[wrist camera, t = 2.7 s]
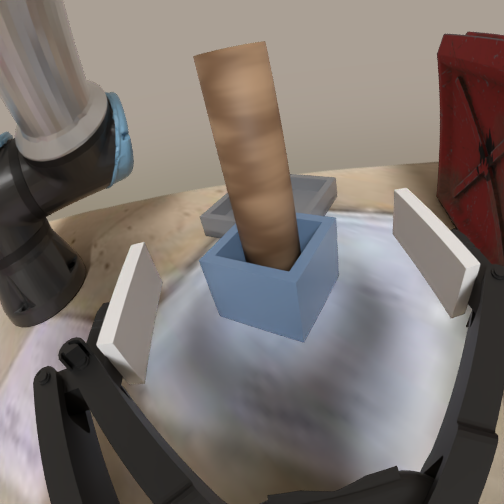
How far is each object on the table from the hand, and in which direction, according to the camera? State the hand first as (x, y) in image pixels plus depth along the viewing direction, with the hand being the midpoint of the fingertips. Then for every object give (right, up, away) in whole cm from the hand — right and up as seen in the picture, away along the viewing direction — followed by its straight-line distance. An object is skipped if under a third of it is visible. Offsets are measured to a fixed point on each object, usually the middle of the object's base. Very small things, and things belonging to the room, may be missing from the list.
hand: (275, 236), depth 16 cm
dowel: (+2, -4, +15) cm, 16 cm away
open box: (+2, -5, +16) cm, 17 cm away
